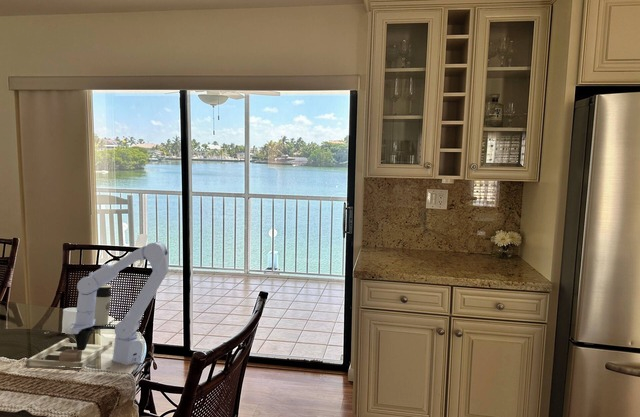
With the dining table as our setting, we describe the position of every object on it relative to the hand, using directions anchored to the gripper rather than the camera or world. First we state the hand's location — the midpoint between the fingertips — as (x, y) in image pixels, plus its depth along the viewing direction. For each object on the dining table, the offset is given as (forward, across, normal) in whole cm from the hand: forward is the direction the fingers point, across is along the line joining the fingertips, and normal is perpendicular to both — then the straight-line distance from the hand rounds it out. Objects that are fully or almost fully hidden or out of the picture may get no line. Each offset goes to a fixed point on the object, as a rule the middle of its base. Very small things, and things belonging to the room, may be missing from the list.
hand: (81, 349), depth 151 cm
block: (+3, +7, 0) cm, 8 cm away
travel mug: (+4, -51, -14) cm, 53 cm away
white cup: (+4, -33, -18) cm, 38 cm away
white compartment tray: (+4, -3, -4) cm, 6 cm away
